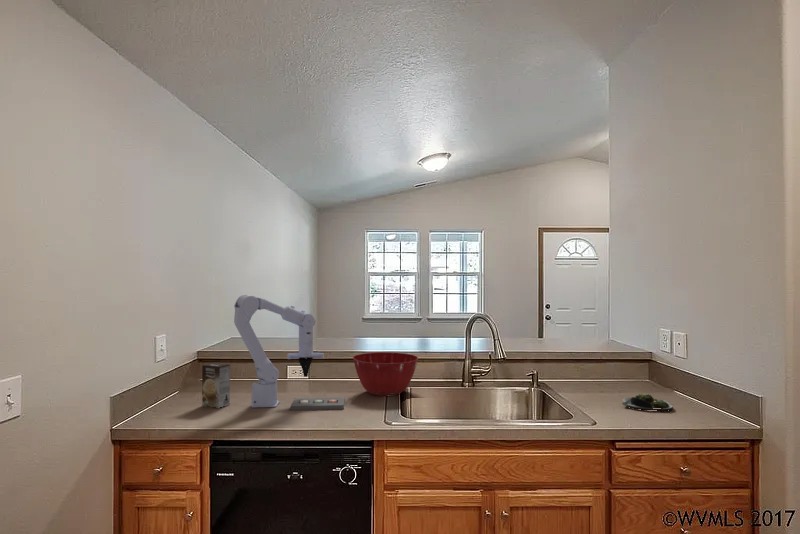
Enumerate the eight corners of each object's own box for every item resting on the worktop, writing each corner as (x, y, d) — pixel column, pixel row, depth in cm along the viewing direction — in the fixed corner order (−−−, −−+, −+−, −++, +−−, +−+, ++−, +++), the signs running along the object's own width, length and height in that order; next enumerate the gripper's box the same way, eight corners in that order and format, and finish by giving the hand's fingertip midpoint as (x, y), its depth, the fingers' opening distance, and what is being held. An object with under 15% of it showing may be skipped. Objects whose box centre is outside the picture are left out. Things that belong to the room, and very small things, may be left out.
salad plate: (617, 398, 213) (617, 387, 213) (665, 401, 208) (665, 390, 208) (623, 411, 194) (623, 398, 194) (676, 414, 189) (676, 401, 189)
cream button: (299, 406, 199) (299, 402, 200) (300, 404, 203) (300, 400, 203) (307, 406, 200) (307, 402, 200) (308, 404, 203) (308, 400, 203)
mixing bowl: (420, 386, 236) (420, 352, 236) (416, 401, 207) (416, 363, 207) (359, 384, 238) (359, 351, 239) (346, 400, 210) (346, 362, 210)
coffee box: (200, 406, 201) (201, 364, 201) (213, 402, 207) (213, 362, 207) (218, 408, 197) (218, 366, 198) (230, 404, 203) (230, 363, 203)
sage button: (313, 406, 200) (313, 402, 200) (314, 404, 203) (314, 399, 203) (322, 406, 200) (322, 401, 200) (322, 404, 203) (322, 399, 203)
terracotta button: (328, 406, 200) (328, 401, 200) (328, 404, 203) (328, 399, 203) (336, 405, 200) (336, 401, 200) (337, 403, 204) (337, 399, 204)
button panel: (290, 410, 195) (290, 406, 195) (294, 402, 207) (294, 398, 207) (343, 409, 196) (343, 405, 196) (344, 401, 208) (344, 397, 208)
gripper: (286, 344, 207) (286, 378, 207) (322, 344, 208) (323, 377, 208) (288, 342, 214) (289, 375, 214) (324, 341, 215) (324, 374, 215)
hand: (305, 376), depth 212 cm, fingers closed
